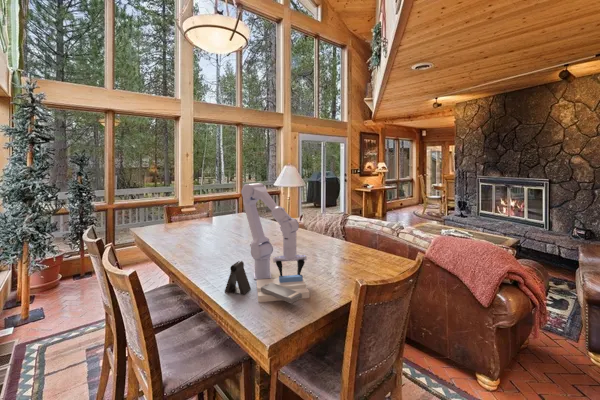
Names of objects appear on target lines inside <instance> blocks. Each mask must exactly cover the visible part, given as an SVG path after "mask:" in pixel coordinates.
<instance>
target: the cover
mask: <svg viewBox="0 0 600 400" xmlns="http://www.w3.org/2000/svg"><path fill="white" fill-rule="evenodd" d="M261 291H262V292H264V293H267V294H269V295H272V296H274V297H277V298H279V299H282V300H281V301H284V302H287V303H290V304H293V303H294V302H295V303H296V301H298V300H301V299H300V298H302V293H299V292H296V291H294V290H291V289H288V288H285V287H283V286H280V285H277V284H274V283H269V284H265V286H263V287H261Z"/></svg>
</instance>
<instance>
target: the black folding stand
mask: <svg viewBox="0 0 600 400" xmlns="http://www.w3.org/2000/svg"><path fill="white" fill-rule="evenodd" d="M244 267H245V264H244V261H243V260H241V261H240V260H238V261H237V262H235V263H234V264H232V265H231V266H230V273H229V277H228V280H227V283H226V285H225V288H224V289H225V290H224V293H226V292H227V293H228V294H235V295H242V296H245V294H247V292H249V291H250V290H251V289H252V288H251V285H250V282H249V279H248V276H247V274H246V271H245V268H244Z"/></svg>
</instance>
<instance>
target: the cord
mask: <svg viewBox="0 0 600 400" xmlns="http://www.w3.org/2000/svg"><path fill="white" fill-rule="evenodd" d="M278 278H279V282H280V283H283V282H297V281H303V280H304V279H303V274H300V275H297V274H292V275H291V274H290V275H282V276H280V275H279V277H278Z"/></svg>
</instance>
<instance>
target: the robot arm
mask: <svg viewBox="0 0 600 400" xmlns="http://www.w3.org/2000/svg"><path fill="white" fill-rule="evenodd" d="M267 189H268V188H267V187H266V186H265V185H264V184H263V183H262V182H257V183H245V184H244V185H243V186H242V189H241V191H240V193H241V196H242V199H243V200H242V201H243V202H242V204H243V207H244V212H245V214H246V217H247V222H248V225H249V228H250V233H251V236H252V241H251V243H250V245H249V246H250V255H251V257H252V259H253V260H254V270H253V280H256V281H257V280H261V279H273V278H272V273H271V256H272V254H273V252H274V246H273V244H272V242H270V239H269V238H268V237H266V236H265V233H264V229H263V226H262V225H263V224H262V221H261V218H260V215H259V212H258V209H257V208H258V207H257V202H258V201H259V200H261V201H262V203H263V204H264V205H265V206H266V207H268V209H269V210H270V211H271V217H273V218H274V219H275V221H276V222H277V223H278V224H279V226H280V231H281V233H282V242H283V249H282V251H283V253H282V254H283V255H278V256H273V257H272V262H273V263H276V267H277V269H278V272H279V276H283V262H296V263H297V271H296V272H297V274H296V275H301V273H302V270H303V267H304V265H305V262H306V261H307V255H306V254H297V231H298V230H299V229H300V228H299V227H300V224H299V221H298V219H297V218H294V217H292V216H290V215H289V213H288V212H286V210H285V208H284V207H282V206H280V205H278V204H277V203H276V202H275V201H274V198H272V197H271V195H270V194H269V192H268V190H267Z"/></svg>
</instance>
